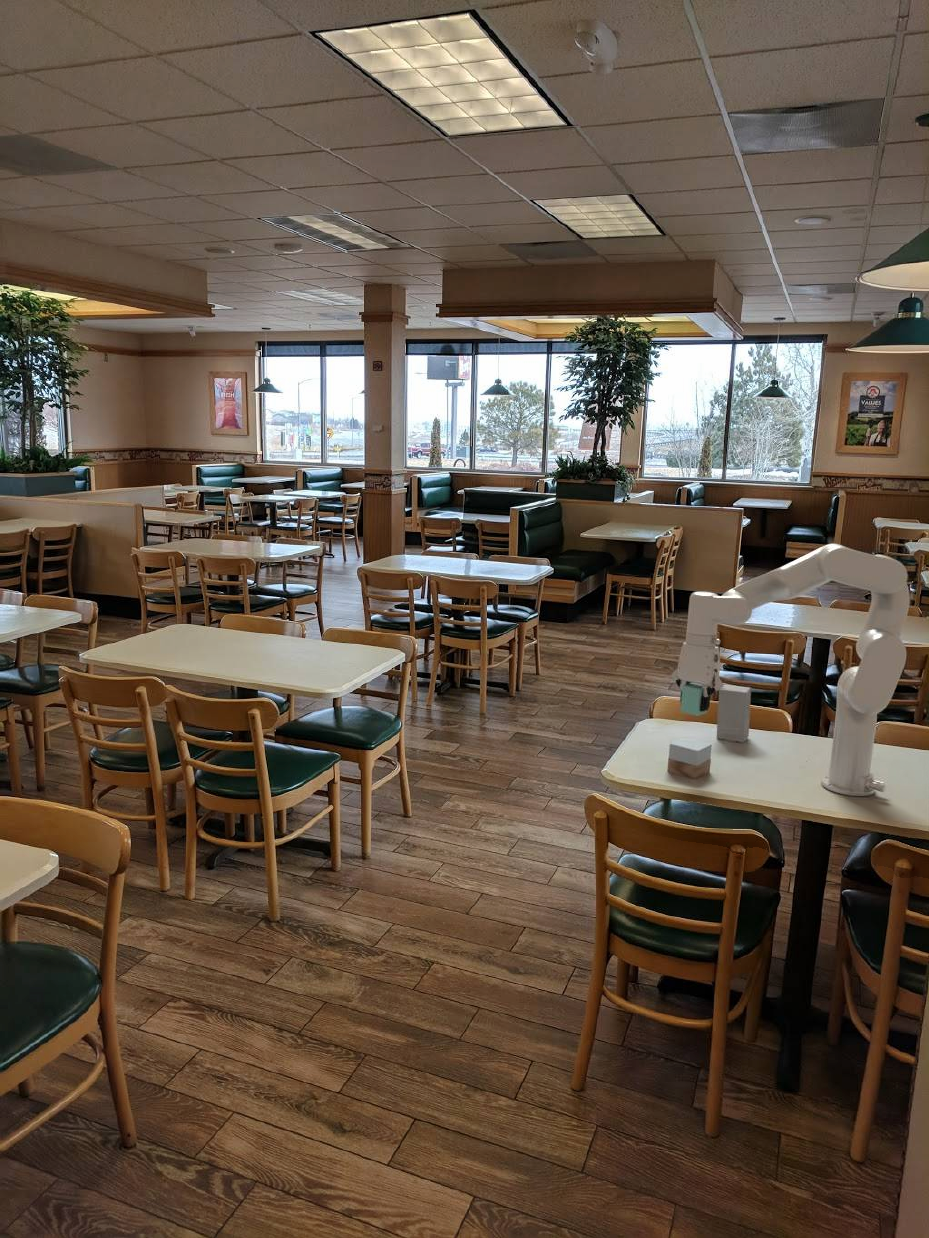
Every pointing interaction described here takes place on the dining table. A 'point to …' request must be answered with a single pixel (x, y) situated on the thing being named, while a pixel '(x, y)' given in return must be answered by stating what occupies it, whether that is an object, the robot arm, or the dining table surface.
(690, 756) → the tower top
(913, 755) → the dining table surface
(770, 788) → the dining table surface
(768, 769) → the dining table surface
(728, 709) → the skincare box
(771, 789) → the dining table surface
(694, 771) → the tower base
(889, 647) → the robot arm
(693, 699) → the block
